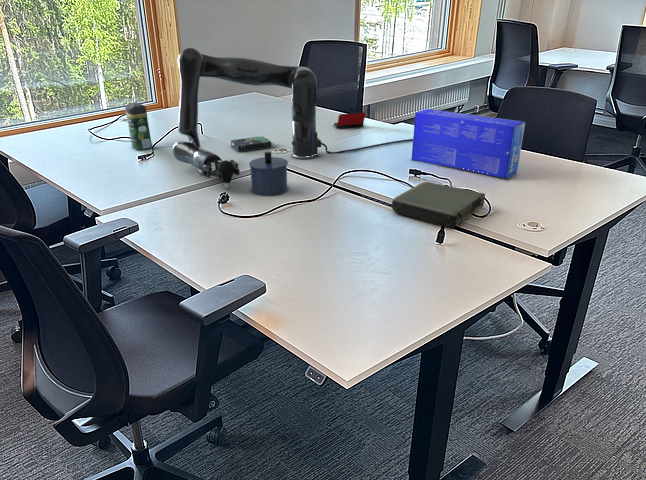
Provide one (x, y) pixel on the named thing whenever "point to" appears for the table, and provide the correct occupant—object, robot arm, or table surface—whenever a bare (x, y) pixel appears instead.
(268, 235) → the table surface
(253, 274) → the table surface
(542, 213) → the table surface
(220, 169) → the light bulb
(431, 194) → the network switch
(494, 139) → the blue cardboard box
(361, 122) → the handheld console
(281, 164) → the pot lid
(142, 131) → the coffee jar
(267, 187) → the pot
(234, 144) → the disk drive
